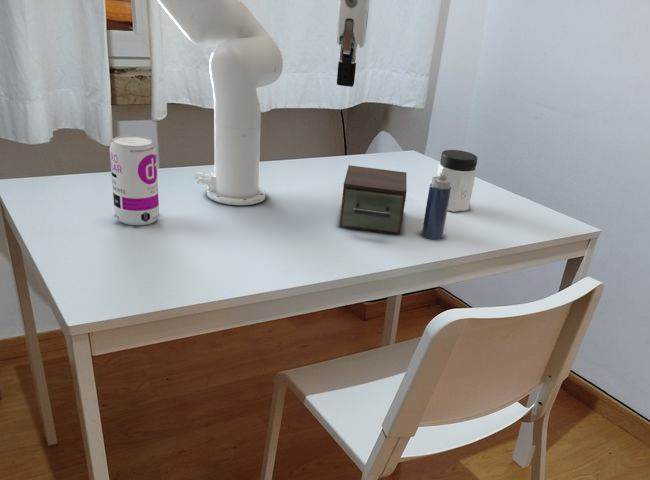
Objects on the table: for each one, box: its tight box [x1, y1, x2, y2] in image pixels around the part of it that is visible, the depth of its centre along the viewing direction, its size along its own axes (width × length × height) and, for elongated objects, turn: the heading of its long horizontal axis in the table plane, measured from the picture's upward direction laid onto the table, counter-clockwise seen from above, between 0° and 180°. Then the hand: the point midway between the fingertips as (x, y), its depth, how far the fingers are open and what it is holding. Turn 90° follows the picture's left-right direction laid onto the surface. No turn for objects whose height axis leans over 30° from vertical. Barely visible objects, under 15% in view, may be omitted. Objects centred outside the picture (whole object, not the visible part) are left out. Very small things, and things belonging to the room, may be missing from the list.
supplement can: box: [108, 135, 160, 226], centre depth 126 cm, size 8×8×15 cm
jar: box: [436, 149, 478, 213], centre depth 154 cm, size 9×8×12 cm
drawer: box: [342, 188, 403, 232], centre depth 138 cm, size 17×11×7 cm
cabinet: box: [338, 164, 408, 235], centre depth 141 cm, size 14×13×9 cm
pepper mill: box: [421, 173, 452, 240], centre depth 136 cm, size 4×4×13 cm
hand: (345, 85), depth 126 cm, fingers closed
